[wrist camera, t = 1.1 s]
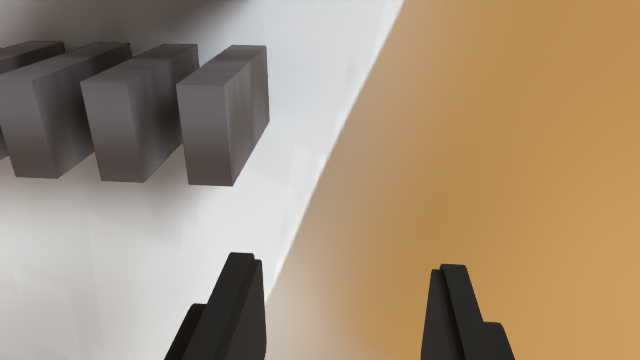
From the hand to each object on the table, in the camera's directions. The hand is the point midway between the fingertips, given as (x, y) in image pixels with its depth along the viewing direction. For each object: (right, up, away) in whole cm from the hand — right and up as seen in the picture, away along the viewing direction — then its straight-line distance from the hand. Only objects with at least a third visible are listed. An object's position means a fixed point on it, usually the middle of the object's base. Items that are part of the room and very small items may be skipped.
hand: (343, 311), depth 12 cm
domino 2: (-10, +10, +20) cm, 24 cm away
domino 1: (-5, +10, +20) cm, 22 cm away
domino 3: (-14, +10, +20) cm, 27 cm away
